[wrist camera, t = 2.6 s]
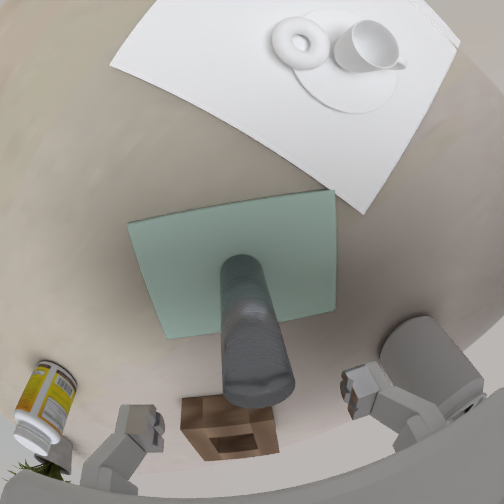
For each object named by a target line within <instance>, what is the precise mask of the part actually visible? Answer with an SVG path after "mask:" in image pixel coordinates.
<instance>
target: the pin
mask: <svg viewBox="0 0 504 504" xmlns="http://www.w3.org/2000/svg"><path fill="white" fill-rule="evenodd" d="M220 313H221V351H222V378H223V394H224V396H225V398H226V399H227V400H228V401H229V402H230V403H232V404H234V405H236V406H239V407H242V408H249V409H258V408H265V407H269V406H273V405H275V404H278V403H280V402H282V401H283V400H285V399H286V398H287V397H289V396H290V394H291V393H292V392H293V390H294V388H295V379H294V376H293V372H292V369H291V365H290V362H289V358H288V355H287V351H286V348H285V345H284V341H283V338H282V334H281V331H280V327H279V324H278V320H277V317H276V313H275V310H274V306H273V303H272V300H271V296H270V293H269V289H268V286H267V282H266V279H265V276H264V272H263V269H262V266H261V264H260V262H259V261H258V260H257V259H256V258H254V257H252V256H250V255H246V254H238V255H234V256H232V257H230V258H228V259H227V260H226V261H225V262H224V263H223V265H222V267H221V269H220Z"/></svg>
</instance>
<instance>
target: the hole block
mask: <svg viewBox="0 0 504 504" xmlns="http://www.w3.org/2000/svg"><path fill="white" fill-rule="evenodd" d="M180 430H181V431H182V432H183V434H184V435H185V437H186V438H187V439H188V441H189V442H190V443H191V444H192V446H193V447H194V448H195V450H196V451H197V452H198V453H199V455H200V456H201V457H202V458H203V460H204V461H216V460H228V459H239V458H247V457H255V456H262V455H269V454H274V453H279V446H278V440H277V435H276V429H275V423H274V417H273V412H272V407H271V406H269V407H265V408H258V409H249V408H242V407H239V406H236V405H234V404H232V403H230V402H229V401H228V400H227V399H226V398H225V396H224V395H215V396H205V397H194V398H182V410H181V425H180Z"/></svg>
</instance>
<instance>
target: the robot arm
mask: <svg viewBox="0 0 504 504" xmlns="http://www.w3.org/2000/svg"><path fill="white" fill-rule="evenodd" d="M341 377H342V379H343V380H342V381H341V383H340V390H341V394H342V397H343V400H344V401H345V402H346V403H348V411H349V413H350V415H351V418H352V420H355V419H358V418H361V417H364V416H367V415H371V416H372V417H374V418H375V419H377V420H378V421H380V422H381V423H383V424H384V425H386V426H387V427H389V428H390V429H392V430H393V431H395V432H396V433H398V434H399V435H398V437H397V439H396V440H395V442H394V444H393V447H394V449H395V452H396V453H394V454H392V455H390V456H388V457H386V458H383V459H381V460H378V461H376V462H373V463H371V464H368V465H366V466H363V467H360V468H358V469H355V470H352V471H349V472H346V473H343V474H340V475H337V476H333V477H330V478H327V479H324V480H320V481H316V482H312V483H308V484H304V485H300V486H296V487H291V488H286V489H281V490H276V491H270V492H264V493H257V494H250V495H241V496H232V497H217V498H159V497H146V496H138V488H137V486H135V485H134V484H132V483H131V482H129V481H128V480H129V479H130V477H131V476H132V474H133V473H134V471H135V470H136V468H137V467H138V466H139V464H140V463H141V461H142V460H143V458H144V457H145V455H146V454H147V453H153V452H163V450H164V439H163V438H162V437H161V436H162V435H163V434H164V432H165V424H164V419H163V417H162V415H161V414H160V413H158V412H156V407H155V406H154V405H153V404H149V405H121V407H120V409H119V414H118V418H117V423H116V428H115V433H114V434H111V435H110V436H109V437H108V438H107V439H106V440H105V441H104V442H103V443H102V445H101V446H100V447H99V448H98V449H97V450H96V451H95V452H94V453H93V454H92V455H91V456H90V457H89V458H88V459H87V460H86V461H85V462H84V464H83V469H82V475H81V480H80V486H79V485H75V484H71V483H68V482H64V481H60V480H57V479H54V478H51V477H47V476H44V475H41V474H39V473H36V472H33V471H31V470H27V469H24V470H22V471H20V472H19V473H17V474H16V475H15V476H14V477H12V478H11V479H10V480H9V481H8V482H7V483H6V485H5V487H4V489H3V492H2V495H1V499H0V504H504V388H500V389H498V390H497V391H495V392H494V393H493V394H492V395H490V396H489V397H488V398H486V399H485V400H484V401H482V402H481V403H480V404H478V405H477V406H476V407H474V408H473V409H471V410H470V411H468V412H467V413H466V414H464V415H463V416H461V417H460V418H458V419H456V420H455V421H453V422H452V423H450V424H449V425H448V423H447V422H446V420H445V418H444V417H443V415H442V414H441V412H440V411H439V409H438V408H437V406H436V404H434V403H431V402H429V401H427V400H425V399H423V398H420V397H418V396H416V395H414V394H412V393H410V392H407V391H405V390H403V389H401V388H399V387H397V386H391V384H390V383H389V381H388V379H387V378H386V376H385V375H384V373H383V371H382V370H381V368H380V367H379V365H378V364H377V362H376V361H372V362H369V363H366V364H362V365H360V366H357V367H354V368H351V369H348V370H345V371H343V372H342V375H341Z"/></svg>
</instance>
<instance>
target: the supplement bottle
mask: <svg viewBox="0 0 504 504" xmlns="http://www.w3.org/2000/svg"><path fill="white" fill-rule="evenodd" d="M76 389H77V387H76V383H75V381H74V379H73V378H72V377H71V375H70V374H69V373H68V372H67V371H65V370H64V369H63V368H61V367H60V366H58V365H56V364H54V363H51V362H46V361H43V362H40V363H38V364H37V366H36V368H35V369H34V371H33V373H32V375H31V377H30V379H29V381H28V383H27V385H26V387H25V389H24V392H23V394H22V396H21V398H20V400H19V402H18V405H17V407H16V409H15V412H14V418H15V420H16V422H17V423H18V424H17V426H16V429H15V432H14V437H15V438H16V440H17V441H18V442H20V443H21V444H22V445H23V446H25V447H27V448H28V449H29V450H31V451H33V452H35V453H37V454H39V455H42V456H47V455H48V453H49V450H50V446H51V444H57V443H59V441H60V439H61V436H62V432H63V429H64V426H65V423H66V419H67V416H68V413H69V410H70V407H71V404H72V402H73V399H74V396H75V393H76Z"/></svg>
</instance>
